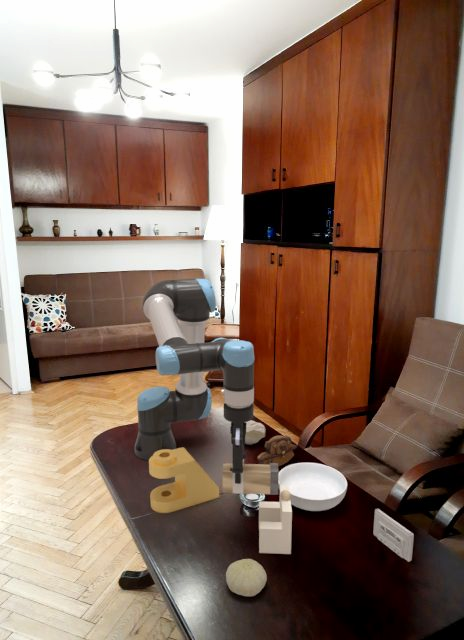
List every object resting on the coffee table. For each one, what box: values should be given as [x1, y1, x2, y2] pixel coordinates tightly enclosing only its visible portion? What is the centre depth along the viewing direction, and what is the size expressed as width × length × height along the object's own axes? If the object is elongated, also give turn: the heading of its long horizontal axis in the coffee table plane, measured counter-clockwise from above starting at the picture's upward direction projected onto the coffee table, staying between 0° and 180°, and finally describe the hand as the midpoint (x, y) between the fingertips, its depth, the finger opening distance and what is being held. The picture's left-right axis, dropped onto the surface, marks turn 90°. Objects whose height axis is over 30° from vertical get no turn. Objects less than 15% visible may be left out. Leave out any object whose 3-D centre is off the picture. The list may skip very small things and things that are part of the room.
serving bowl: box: [278, 462, 348, 512], centre depth 136 cm, size 21×21×7 cm
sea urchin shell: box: [225, 558, 268, 597], centre depth 103 cm, size 9×8×8 cm
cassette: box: [373, 508, 415, 563], centre depth 115 cm, size 12×2×8 cm, turn 29°
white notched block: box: [258, 486, 293, 555], centre depth 118 cm, size 11×8×14 cm
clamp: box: [148, 446, 220, 514], centre depth 135 cm, size 20×9×16 cm, turn 118°
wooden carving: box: [256, 435, 298, 467], centre depth 155 cm, size 16×5×10 cm, turn 128°
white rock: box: [245, 419, 267, 445], centre depth 169 cm, size 12×8×10 cm
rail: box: [221, 462, 280, 496], centre depth 116 cm, size 4×14×6 cm, turn 86°
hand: (238, 487), depth 116 cm, fingers closed on rail, 4 cm apart
